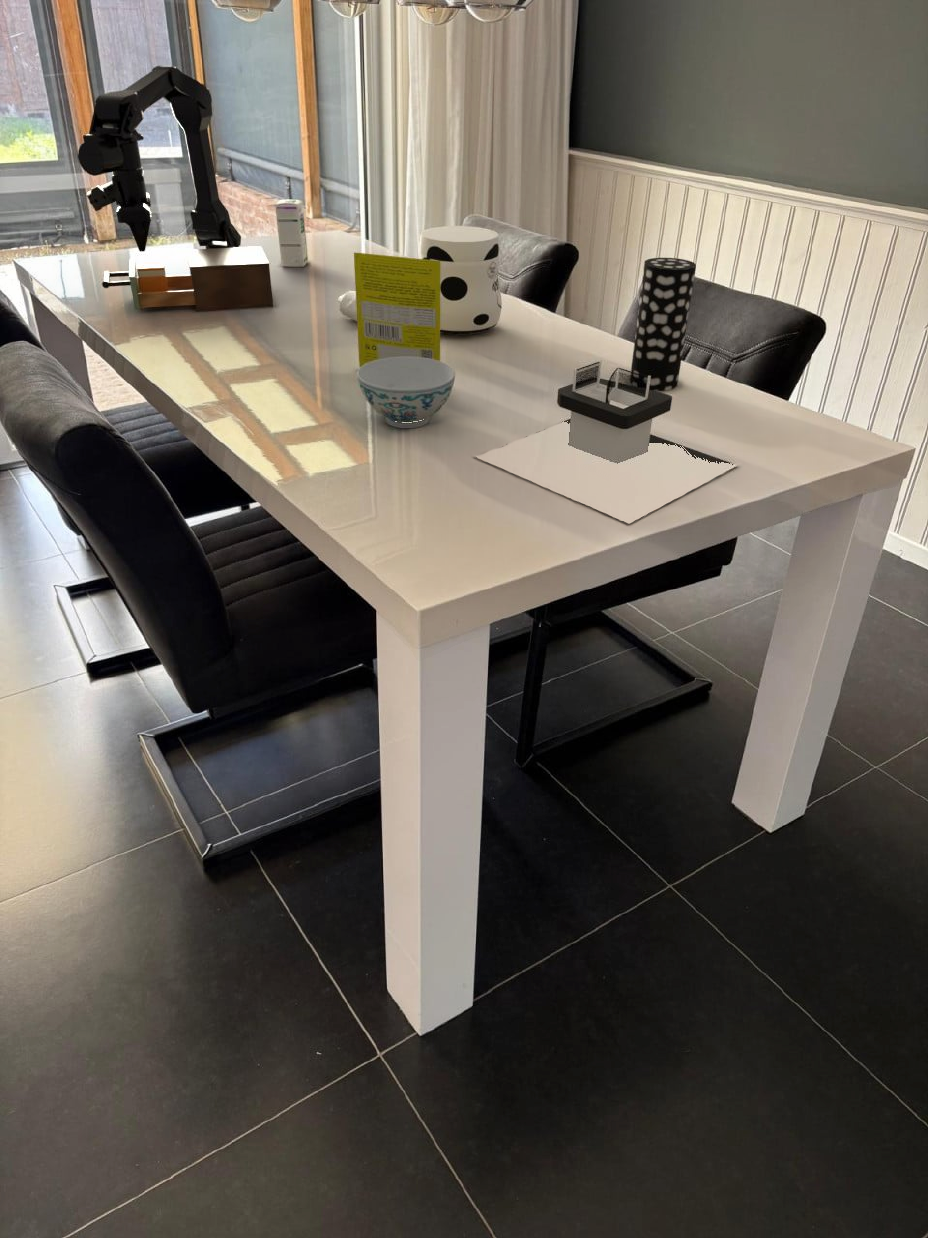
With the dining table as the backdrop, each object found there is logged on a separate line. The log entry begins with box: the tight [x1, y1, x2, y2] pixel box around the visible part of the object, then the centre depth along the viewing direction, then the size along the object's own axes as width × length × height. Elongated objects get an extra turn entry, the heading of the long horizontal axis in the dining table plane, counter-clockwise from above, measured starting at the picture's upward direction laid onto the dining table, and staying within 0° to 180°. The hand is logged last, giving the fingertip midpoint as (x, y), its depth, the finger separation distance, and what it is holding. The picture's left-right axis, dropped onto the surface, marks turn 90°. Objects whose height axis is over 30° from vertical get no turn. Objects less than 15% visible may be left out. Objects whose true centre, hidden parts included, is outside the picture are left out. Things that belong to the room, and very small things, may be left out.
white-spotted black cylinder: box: [630, 257, 697, 392], centre depth 152 cm, size 8×8×20 cm
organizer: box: [186, 246, 274, 312], centre depth 194 cm, size 16×16×9 cm
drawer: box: [101, 258, 196, 311], centre depth 191 cm, size 22×16×6 cm
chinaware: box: [356, 357, 456, 429], centre depth 139 cm, size 15×15×8 cm
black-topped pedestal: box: [556, 360, 734, 465], centre depth 125 cm, size 28×26×13 cm
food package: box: [353, 252, 441, 369], centre depth 152 cm, size 15×1×20 cm, turn 71°
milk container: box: [418, 225, 503, 336], centre depth 177 cm, size 17×17×18 cm
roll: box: [337, 290, 357, 323], centre depth 184 cm, size 6×12×6 cm, turn 35°
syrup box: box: [274, 198, 309, 268], centre depth 220 cm, size 6×6×14 cm
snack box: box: [136, 263, 168, 293], centre depth 190 cm, size 6×3×6 cm, turn 107°
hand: (142, 250), depth 187 cm, fingers closed
